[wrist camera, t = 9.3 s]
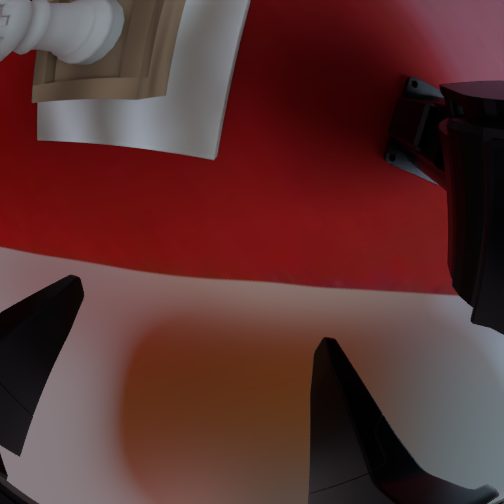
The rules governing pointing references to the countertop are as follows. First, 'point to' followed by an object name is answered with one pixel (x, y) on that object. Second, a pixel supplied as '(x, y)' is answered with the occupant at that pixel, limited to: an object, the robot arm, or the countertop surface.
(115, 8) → the rook chess piece
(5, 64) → the countertop surface
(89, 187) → the countertop surface
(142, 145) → the board
